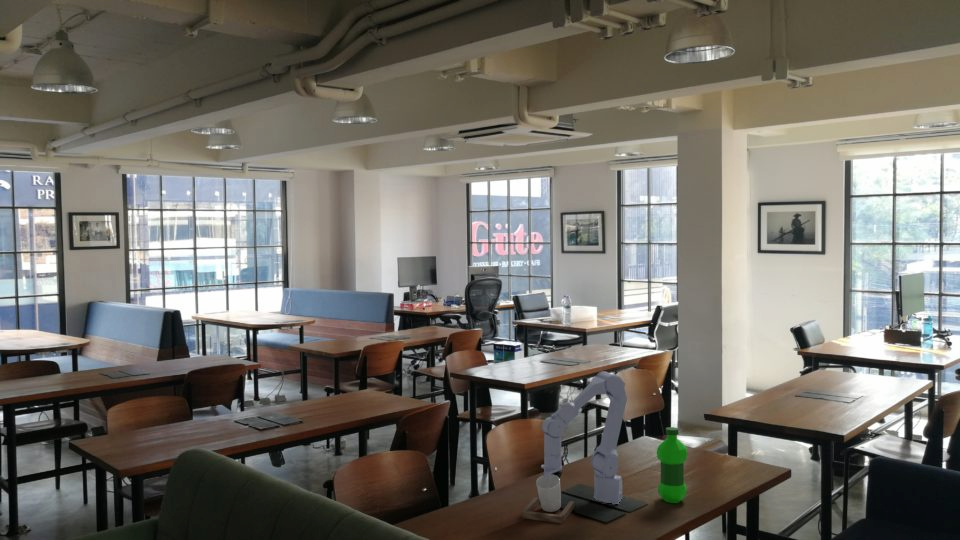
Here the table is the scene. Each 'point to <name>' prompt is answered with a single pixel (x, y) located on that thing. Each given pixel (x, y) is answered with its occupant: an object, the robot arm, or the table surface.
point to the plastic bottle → (672, 467)
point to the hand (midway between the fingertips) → (553, 493)
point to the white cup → (549, 492)
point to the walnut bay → (560, 518)
